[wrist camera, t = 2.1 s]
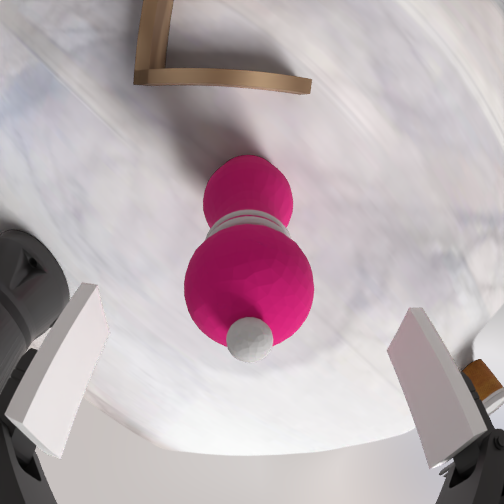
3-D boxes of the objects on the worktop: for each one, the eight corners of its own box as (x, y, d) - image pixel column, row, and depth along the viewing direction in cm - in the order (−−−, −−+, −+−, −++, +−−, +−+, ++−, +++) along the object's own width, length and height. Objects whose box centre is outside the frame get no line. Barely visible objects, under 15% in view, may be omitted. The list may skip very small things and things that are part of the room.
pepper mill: (194, 185, 27) (115, 346, 10) (250, 133, 25) (259, 225, 8) (245, 234, 30) (245, 420, 13) (301, 189, 28) (380, 352, 10)
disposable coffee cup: (493, 354, 45) (515, 392, 35) (467, 382, 50) (486, 420, 39) (474, 352, 43) (499, 395, 33) (446, 382, 48) (466, 425, 37)
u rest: (150, 85, 22) (133, 84, 18) (168, -35, 16) (155, -54, 12) (299, 94, 23) (310, 94, 19) (312, -28, 16) (324, -47, 13)
